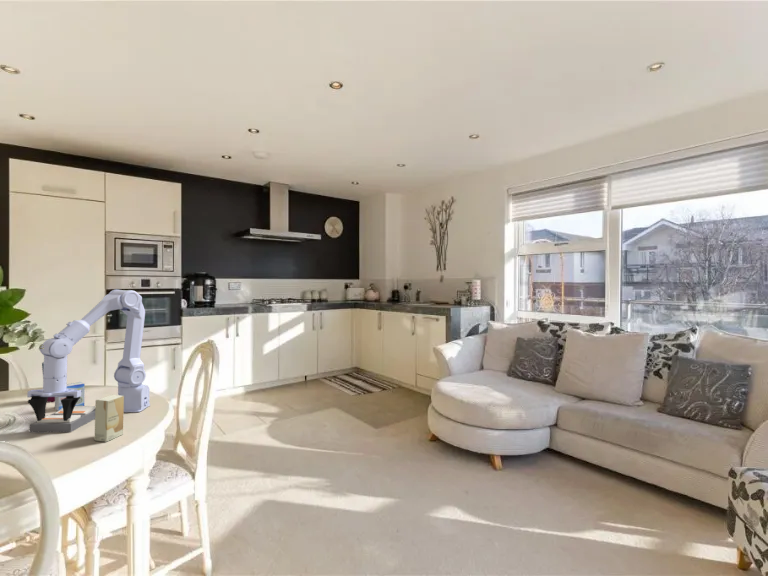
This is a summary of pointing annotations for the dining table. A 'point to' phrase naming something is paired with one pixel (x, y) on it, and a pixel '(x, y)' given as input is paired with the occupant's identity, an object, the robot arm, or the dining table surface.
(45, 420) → the rocker
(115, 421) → the skincare box
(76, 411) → the orange-striped cream panel
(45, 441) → the dining table surface
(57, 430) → the grey divided tray
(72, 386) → the medicine box
